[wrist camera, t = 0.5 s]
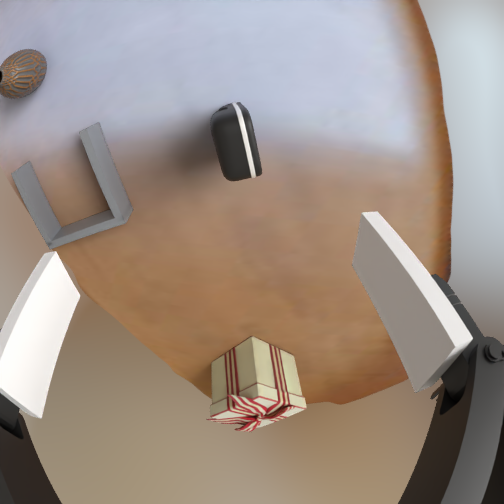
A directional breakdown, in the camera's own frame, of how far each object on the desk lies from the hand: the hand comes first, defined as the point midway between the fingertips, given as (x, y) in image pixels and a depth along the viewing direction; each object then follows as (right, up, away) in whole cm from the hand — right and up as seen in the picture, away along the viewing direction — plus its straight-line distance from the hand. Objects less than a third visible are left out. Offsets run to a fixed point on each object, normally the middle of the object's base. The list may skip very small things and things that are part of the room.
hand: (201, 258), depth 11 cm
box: (-24, +10, +22) cm, 34 cm away
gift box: (+1, -25, +52) cm, 57 cm away
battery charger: (-1, +16, +21) cm, 27 cm away
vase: (-28, +25, +11) cm, 39 cm away
